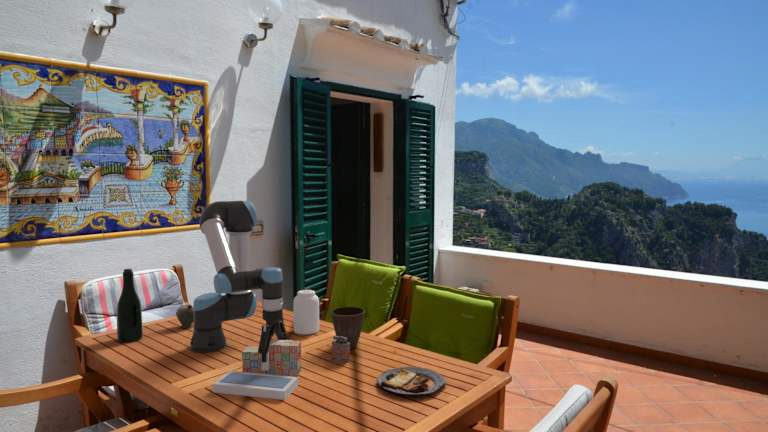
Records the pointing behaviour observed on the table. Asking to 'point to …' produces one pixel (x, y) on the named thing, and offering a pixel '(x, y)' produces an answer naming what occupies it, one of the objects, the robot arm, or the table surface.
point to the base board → (256, 385)
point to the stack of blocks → (275, 359)
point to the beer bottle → (129, 311)
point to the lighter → (340, 349)
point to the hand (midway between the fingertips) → (273, 363)
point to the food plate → (410, 380)
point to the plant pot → (348, 323)
